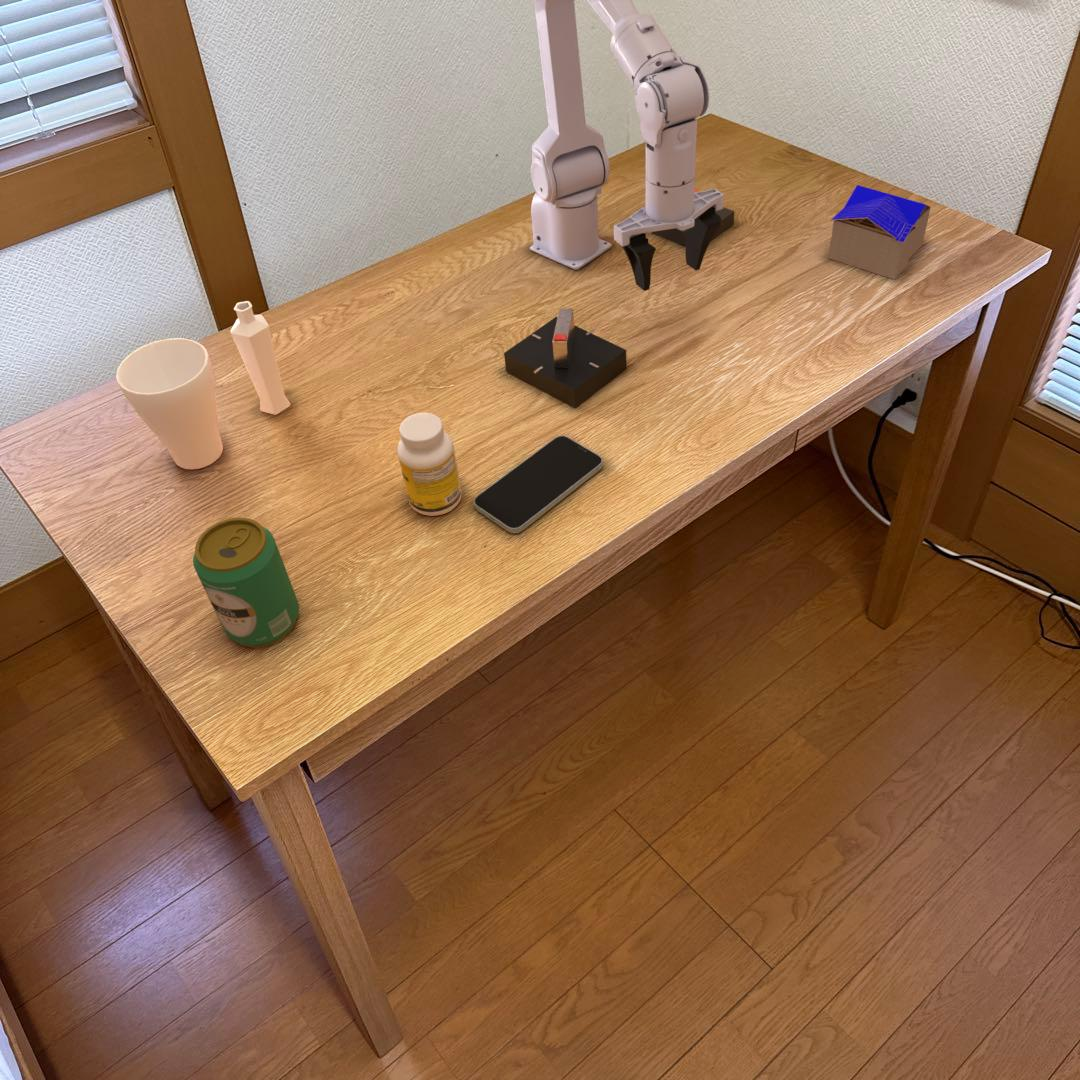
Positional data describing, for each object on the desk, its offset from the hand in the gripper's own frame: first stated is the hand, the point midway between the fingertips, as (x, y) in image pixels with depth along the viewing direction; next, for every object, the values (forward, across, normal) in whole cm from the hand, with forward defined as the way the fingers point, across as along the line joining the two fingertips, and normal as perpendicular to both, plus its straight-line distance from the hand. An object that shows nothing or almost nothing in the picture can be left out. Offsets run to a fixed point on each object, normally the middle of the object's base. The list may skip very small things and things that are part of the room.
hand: (668, 276), depth 131 cm
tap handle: (+6, -14, +2) cm, 16 cm away
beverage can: (+10, -62, -17) cm, 65 cm away
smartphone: (+9, -28, -15) cm, 33 cm away
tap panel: (+9, -14, +2) cm, 17 cm away
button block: (+9, +18, +22) cm, 30 cm away
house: (+10, +36, 0) cm, 37 cm away
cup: (+10, -60, +13) cm, 62 cm away
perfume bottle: (+10, -49, +17) cm, 52 cm away
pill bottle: (+10, -39, -10) cm, 41 cm away
